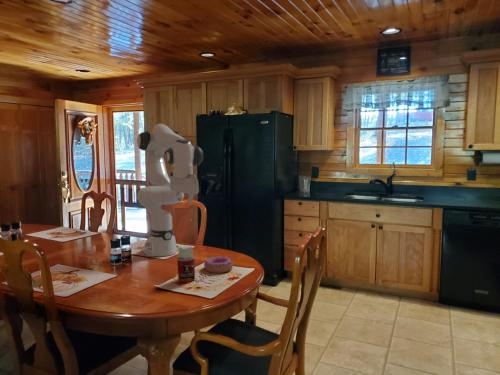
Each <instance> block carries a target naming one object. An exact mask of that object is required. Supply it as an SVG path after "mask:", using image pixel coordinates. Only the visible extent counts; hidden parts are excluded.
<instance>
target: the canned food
mask: <svg viewBox="0 0 500 375" xmlns="http://www.w3.org/2000/svg"><path fill="white" fill-rule="evenodd" d="M195 268H196V265H195V255H193V257H190V258H186V259H183V258H180V257H179V255H178V256H177V280H178V282H179V281H180V282H179V283H181V282H183V283H182V284H188V283H187V282H189V283H192V282H194V281H195V279H196V270H195Z"/></svg>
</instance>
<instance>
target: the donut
mask: <svg viewBox="0 0 500 375" xmlns="http://www.w3.org/2000/svg"><path fill="white" fill-rule="evenodd" d="M203 265H204V269H205V270H206V271H207V272H208V273H211V274H212V273H213V274H222V273H227V272H230V271H231V270H232V269H233V266H234V262H233V259H232V258H231V257H228V256H224V255H221V256H220V255H217V256H211V257H208V258H206V259H205V260H204V263H203Z"/></svg>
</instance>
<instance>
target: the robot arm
mask: <svg viewBox="0 0 500 375" xmlns="http://www.w3.org/2000/svg"><path fill="white" fill-rule="evenodd" d="M136 144H137V147H138V149H139V150H141V151H148V152H147V153H146V156H145V168H146V173H147V174H146V175H147V180H149V182H150V183H151V184H152V185H149V186H144V187H141V188H140V189H138V191H137V196H136V198H137V201H138V203H139V204H140V205H141V206H143V207H144V208H146V209H147V211H148V212H149V215H150V218H151V229H150V232H151V233H150V236H149V237H148V238H147V240H145V242H144V247H143V248H141V251H142V253H144V254H145V255H146V256H147V257H167V256H171V255H174V254H176V253H177V251H178V247H177V242H176V236H175V235H174V228H173V216H172V214H171V213H170V212H169V211H167V210H164V209H162V207H161V206H163V205H164V206H165V205H174V204H178V203H181V202H182V201H183V200H184V197H185V194H188V198H187V204H193V199H194V198H195V197H194V196H195V195H197V194H199V192H200V187H199V180H198V179H197V177H196V175H195V174H194V166H197V167H198V166H200V165H201V163H202V162H203V160H204V158H205V157H204V151H203V149H202V148H201V147H199V145H195V144H194V143H192V142H191V141H190V140H188V139H187V138H185V137H184V136H181V135H179V134H177V133H176V132H174V131H173V130H172V129H171V128H170V127H169V126H167V125H166V124H165V123H157V124H155V125H154V126H153V128H152V129H151V131H148V130H147V131H141V132H140V133H139V134H138V135H137V138H136ZM164 155H165V156H164ZM164 157H166V158H164ZM165 160H166V162H165ZM166 163H168V164H169V165H170V166H173V168H174V169H173V170H171V171H170V172H169V173H168V171H167V167H166ZM168 174H169V175H168Z"/></svg>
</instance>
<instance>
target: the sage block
mask: <svg viewBox="0 0 500 375" xmlns="http://www.w3.org/2000/svg"><path fill="white" fill-rule="evenodd" d="M177 248H178V250H177V251H178V256H179V257H180V258H183V259H186V258H190V257H193V256H194V254H193V253H194V251H193V250H194V249H193V246H190V245H187V244H186V245H182V246H178V247H177Z"/></svg>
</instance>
